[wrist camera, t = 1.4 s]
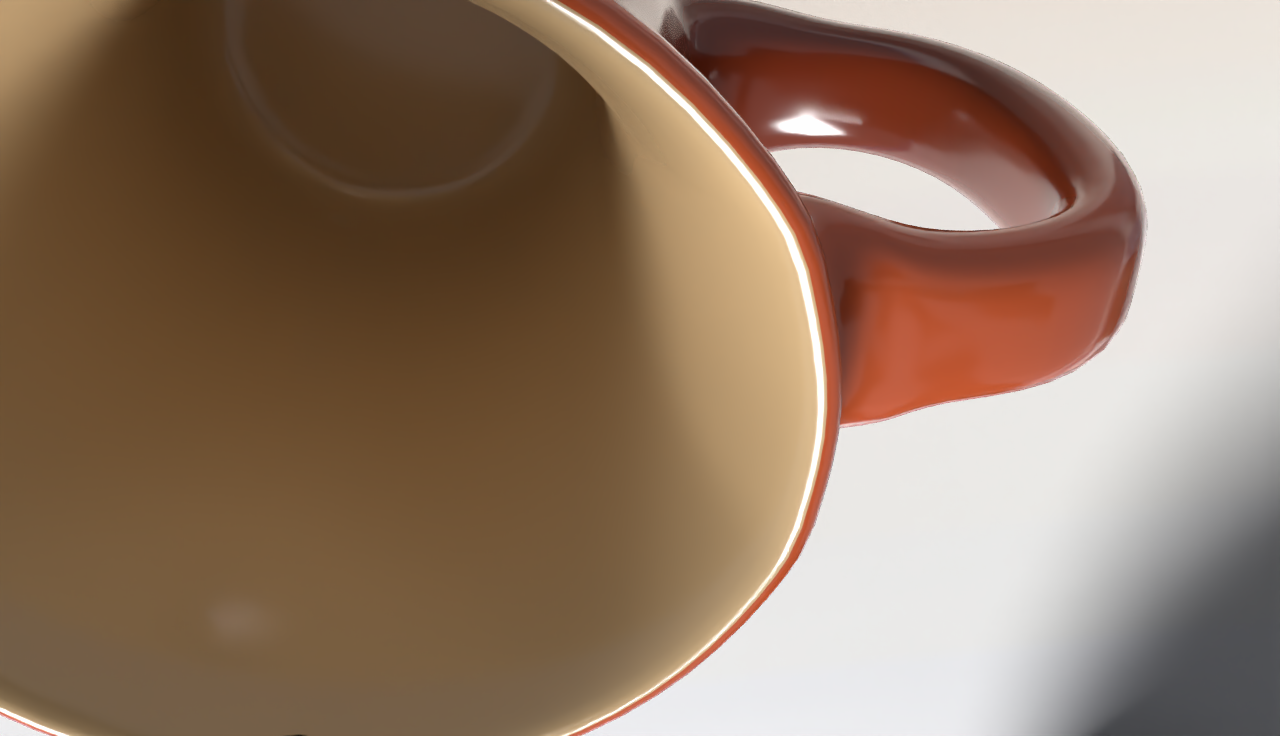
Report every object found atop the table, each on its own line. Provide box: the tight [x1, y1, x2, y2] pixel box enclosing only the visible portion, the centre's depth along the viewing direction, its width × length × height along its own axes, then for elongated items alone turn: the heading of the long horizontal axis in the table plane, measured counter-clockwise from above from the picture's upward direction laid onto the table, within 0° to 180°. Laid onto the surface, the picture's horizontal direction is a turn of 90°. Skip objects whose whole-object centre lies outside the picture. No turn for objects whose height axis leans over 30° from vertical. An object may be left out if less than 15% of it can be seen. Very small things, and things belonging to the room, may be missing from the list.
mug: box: [0, 0, 1147, 736], centre depth 14 cm, size 12×9×10 cm
